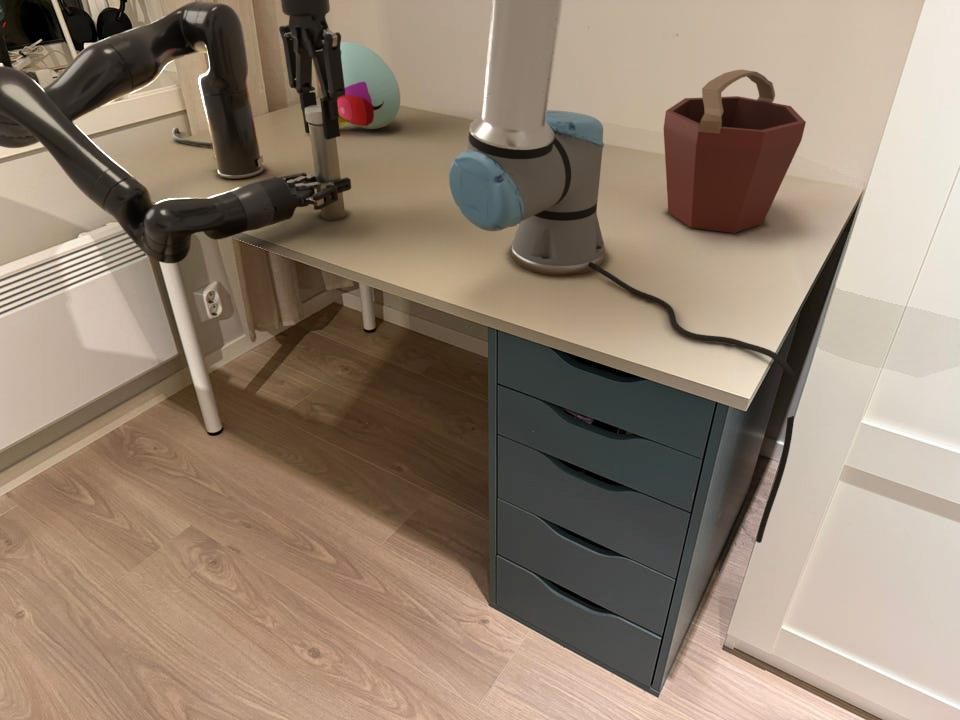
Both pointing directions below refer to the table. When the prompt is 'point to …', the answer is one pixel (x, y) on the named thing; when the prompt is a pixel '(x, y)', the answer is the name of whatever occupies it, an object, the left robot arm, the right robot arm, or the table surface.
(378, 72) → the toy
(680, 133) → the bucket
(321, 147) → the tan tube
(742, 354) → the table surface
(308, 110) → the lid
